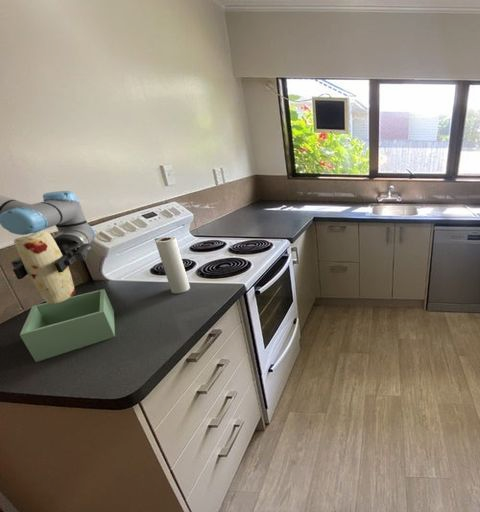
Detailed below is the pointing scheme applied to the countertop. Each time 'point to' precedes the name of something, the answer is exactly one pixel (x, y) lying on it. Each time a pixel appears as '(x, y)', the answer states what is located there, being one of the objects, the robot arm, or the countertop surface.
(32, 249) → the food model
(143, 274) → the countertop surface
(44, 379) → the countertop surface
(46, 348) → the storage bin
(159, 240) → the paper towel roll
